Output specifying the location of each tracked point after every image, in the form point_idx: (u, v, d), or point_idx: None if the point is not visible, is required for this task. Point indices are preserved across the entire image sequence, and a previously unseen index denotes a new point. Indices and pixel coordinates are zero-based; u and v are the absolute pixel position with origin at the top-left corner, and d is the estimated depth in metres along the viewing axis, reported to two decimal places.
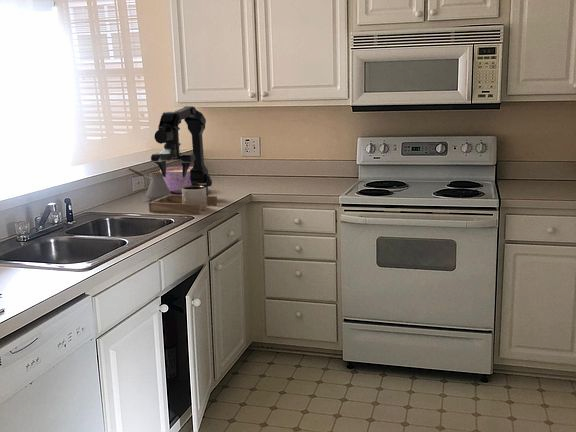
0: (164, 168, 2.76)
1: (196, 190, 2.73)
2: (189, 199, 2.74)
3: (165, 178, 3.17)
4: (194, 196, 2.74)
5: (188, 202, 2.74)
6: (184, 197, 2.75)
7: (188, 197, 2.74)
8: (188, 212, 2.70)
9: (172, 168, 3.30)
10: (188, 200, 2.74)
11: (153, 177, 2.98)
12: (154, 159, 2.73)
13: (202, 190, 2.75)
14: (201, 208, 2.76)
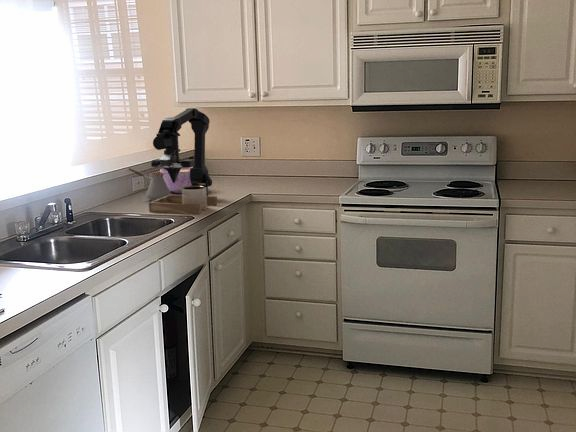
0: None
1: (196, 190, 2.73)
2: (189, 199, 2.74)
3: (165, 178, 3.17)
4: (194, 196, 2.74)
5: (188, 202, 2.74)
6: (184, 197, 2.75)
7: (188, 197, 2.74)
8: (188, 212, 2.70)
9: None
10: (188, 200, 2.74)
11: (153, 177, 2.98)
12: (154, 165, 2.78)
13: (202, 190, 2.75)
14: (201, 208, 2.76)
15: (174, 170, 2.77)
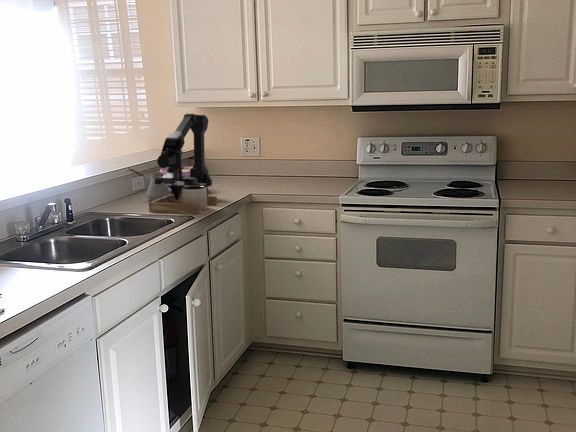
0: None
1: (196, 190, 2.73)
2: (189, 199, 2.74)
3: None
4: (194, 196, 2.73)
5: (188, 202, 2.74)
6: (184, 197, 2.75)
7: (189, 197, 2.74)
8: (188, 212, 2.70)
9: None
10: (188, 200, 2.74)
11: (153, 177, 2.98)
12: (157, 182, 2.79)
13: (202, 190, 2.75)
14: (201, 208, 2.76)
15: (177, 188, 2.78)
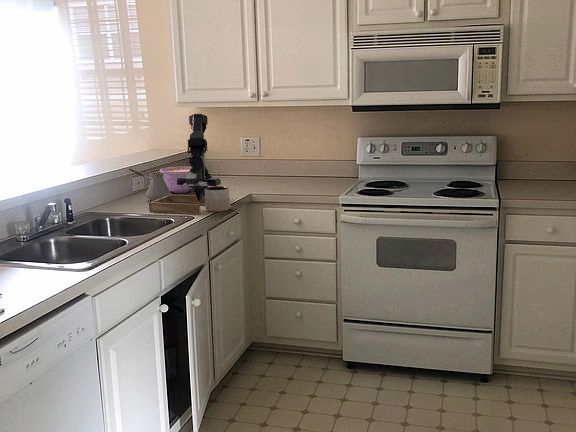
0: None
1: (220, 191, 2.70)
2: (212, 200, 2.71)
3: (165, 178, 3.17)
4: (218, 197, 2.70)
5: (211, 203, 2.71)
6: (207, 198, 2.72)
7: (212, 198, 2.71)
8: (188, 212, 2.70)
9: (172, 168, 3.30)
10: (211, 201, 2.71)
11: (153, 177, 2.98)
12: (180, 183, 2.76)
13: (226, 191, 2.72)
14: (224, 209, 2.73)
15: (199, 188, 2.75)
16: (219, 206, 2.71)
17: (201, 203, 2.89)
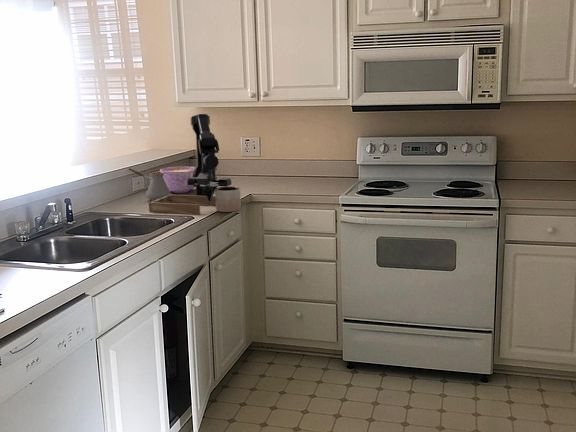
0: None
1: (231, 191, 2.69)
2: (223, 200, 2.69)
3: (165, 178, 3.17)
4: (229, 197, 2.69)
5: (222, 203, 2.70)
6: (218, 198, 2.70)
7: (223, 198, 2.69)
8: (188, 212, 2.70)
9: (172, 168, 3.30)
10: (222, 201, 2.70)
11: (153, 177, 2.98)
12: (190, 183, 2.75)
13: (237, 191, 2.70)
14: (235, 209, 2.71)
15: (210, 189, 2.74)
16: (230, 207, 2.70)
17: (201, 203, 2.89)
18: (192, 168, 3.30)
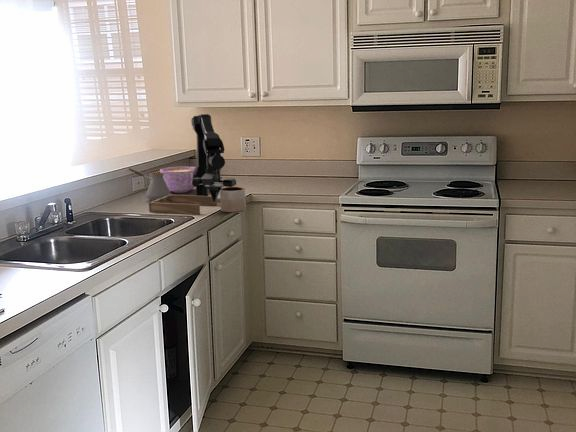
0: None
1: (236, 191, 2.68)
2: (228, 200, 2.69)
3: (165, 178, 3.17)
4: (234, 197, 2.68)
5: (227, 203, 2.69)
6: (223, 198, 2.70)
7: (228, 198, 2.69)
8: (188, 212, 2.70)
9: (172, 168, 3.30)
10: (227, 201, 2.69)
11: (153, 177, 2.98)
12: (195, 183, 2.74)
13: (242, 191, 2.70)
14: (240, 210, 2.71)
15: (215, 189, 2.73)
16: (235, 207, 2.69)
17: (201, 203, 2.89)
18: (192, 168, 3.30)
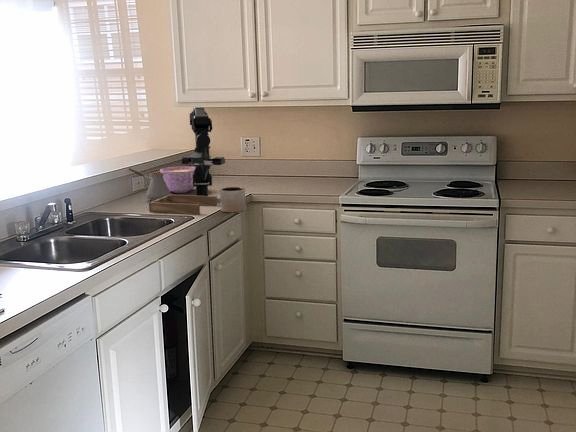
0: None
1: (236, 191, 2.68)
2: (228, 201, 2.69)
3: (165, 178, 3.17)
4: (233, 198, 2.68)
5: (227, 204, 2.69)
6: (223, 199, 2.70)
7: (228, 198, 2.69)
8: (188, 212, 2.70)
9: (172, 168, 3.30)
10: (227, 202, 2.69)
11: (153, 177, 2.98)
12: (184, 162, 2.77)
13: (241, 191, 2.70)
14: (240, 210, 2.71)
15: (205, 167, 2.77)
16: (235, 207, 2.69)
17: (201, 203, 2.89)
18: (192, 168, 3.30)
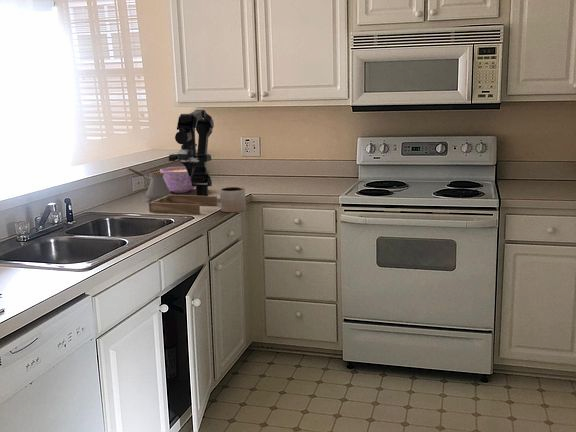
0: (189, 168, 2.86)
1: (236, 191, 2.68)
2: (228, 201, 2.69)
3: (165, 178, 3.17)
4: (233, 198, 2.68)
5: (227, 204, 2.69)
6: (223, 199, 2.70)
7: (228, 198, 2.69)
8: (188, 212, 2.70)
9: (172, 168, 3.30)
10: (227, 202, 2.69)
11: (153, 177, 2.98)
12: (171, 159, 2.84)
13: (241, 191, 2.70)
14: (240, 210, 2.71)
15: (191, 164, 2.83)
16: (235, 207, 2.69)
17: (201, 203, 2.89)
18: None
